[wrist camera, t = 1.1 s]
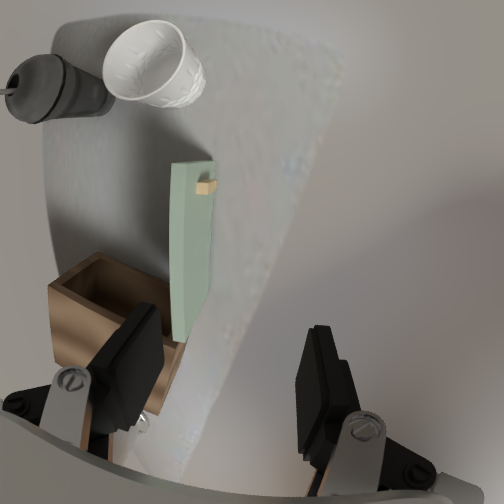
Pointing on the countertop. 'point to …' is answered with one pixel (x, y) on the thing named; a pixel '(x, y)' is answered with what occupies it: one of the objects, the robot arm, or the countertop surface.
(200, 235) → the door
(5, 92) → the beverage cup
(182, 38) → the white cup
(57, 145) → the countertop surface
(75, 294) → the wooden storage crate
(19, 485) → the robot arm
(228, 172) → the countertop surface
